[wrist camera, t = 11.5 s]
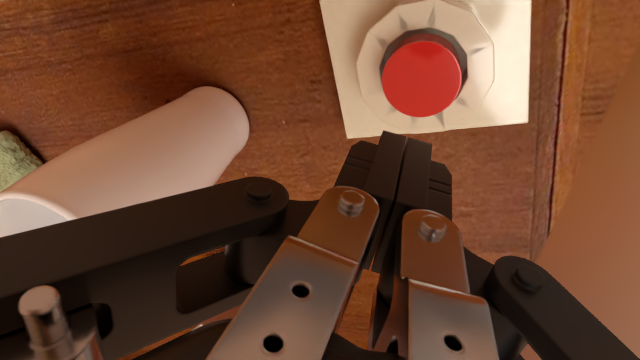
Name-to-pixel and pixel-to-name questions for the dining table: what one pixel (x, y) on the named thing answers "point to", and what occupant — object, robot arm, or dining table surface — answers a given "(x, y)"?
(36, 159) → the washcloth
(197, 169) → the drinking glass
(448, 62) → the button
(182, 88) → the dining table surface
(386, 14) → the button block
